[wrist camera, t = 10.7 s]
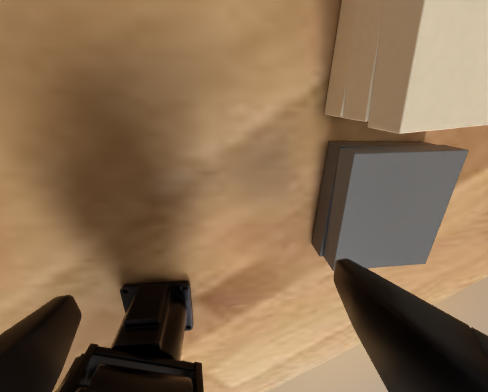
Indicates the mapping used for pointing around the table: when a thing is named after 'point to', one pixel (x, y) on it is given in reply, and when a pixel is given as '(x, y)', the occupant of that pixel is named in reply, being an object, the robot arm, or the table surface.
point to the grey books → (384, 201)
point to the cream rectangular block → (431, 66)
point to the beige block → (354, 59)
